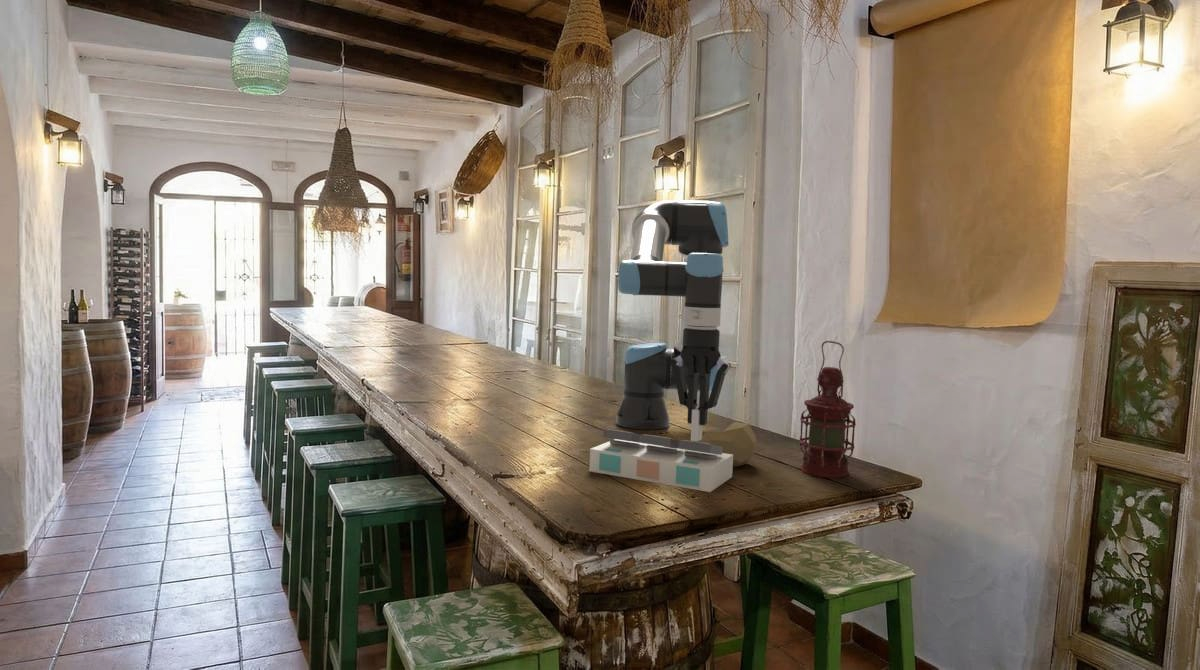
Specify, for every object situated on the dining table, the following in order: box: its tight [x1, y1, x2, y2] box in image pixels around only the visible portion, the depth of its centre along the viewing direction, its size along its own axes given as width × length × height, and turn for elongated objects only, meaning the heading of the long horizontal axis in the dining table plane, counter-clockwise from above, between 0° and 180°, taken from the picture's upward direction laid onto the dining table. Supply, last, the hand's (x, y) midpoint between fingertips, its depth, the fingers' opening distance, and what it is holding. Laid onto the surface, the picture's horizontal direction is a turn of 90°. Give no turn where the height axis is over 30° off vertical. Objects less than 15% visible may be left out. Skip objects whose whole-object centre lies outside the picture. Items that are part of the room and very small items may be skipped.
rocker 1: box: [602, 428, 641, 443], centre depth 179 cm, size 8×7×2 cm
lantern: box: [798, 340, 857, 479], centre depth 181 cm, size 12×12×30 cm
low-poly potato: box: [697, 421, 757, 468], centre depth 186 cm, size 15×11×12 cm
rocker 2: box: [678, 439, 723, 455], centre depth 171 cm, size 8×7×2 cm
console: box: [588, 439, 734, 493], centre depth 175 cm, size 14×28×6 cm, turn 62°
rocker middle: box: [640, 433, 680, 449], centre depth 175 cm, size 8×7×2 cm
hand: (696, 439), depth 168 cm, fingers closed
